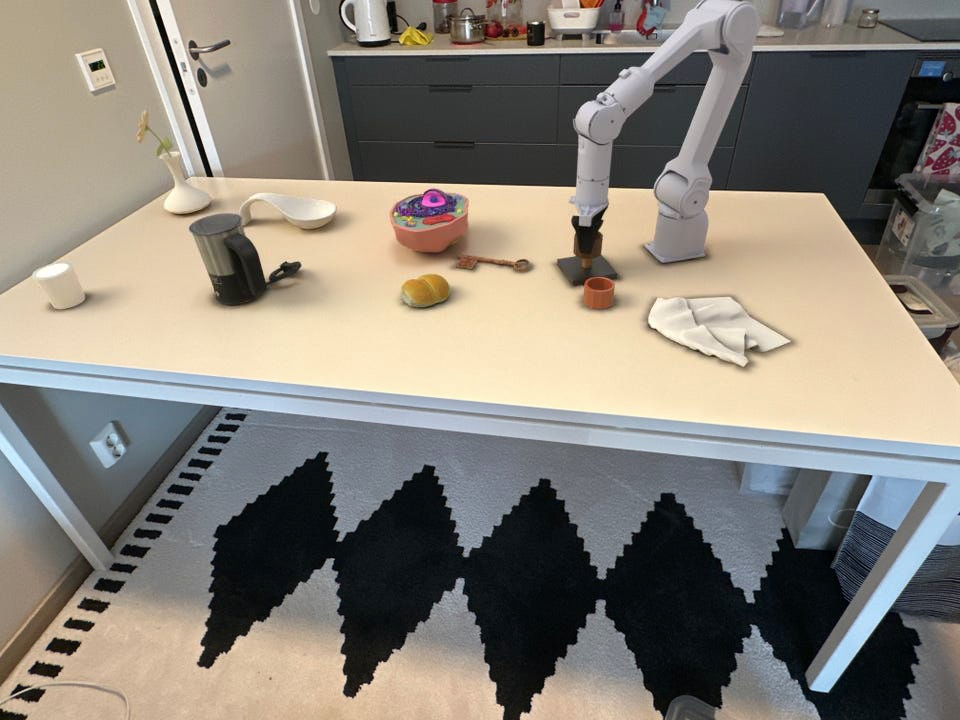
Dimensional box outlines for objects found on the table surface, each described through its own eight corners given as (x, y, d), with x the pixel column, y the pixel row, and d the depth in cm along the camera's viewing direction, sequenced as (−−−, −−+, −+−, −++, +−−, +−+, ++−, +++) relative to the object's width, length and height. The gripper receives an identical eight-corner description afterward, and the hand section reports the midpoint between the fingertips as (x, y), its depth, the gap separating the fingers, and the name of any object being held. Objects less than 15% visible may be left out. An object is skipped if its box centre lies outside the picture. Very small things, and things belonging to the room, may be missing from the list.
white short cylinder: (48, 314, 111) (29, 282, 107) (50, 298, 116) (32, 267, 111) (88, 304, 113) (71, 272, 109) (89, 288, 118) (72, 258, 114)
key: (453, 268, 118) (523, 278, 113) (452, 264, 118) (523, 274, 113) (464, 253, 122) (532, 262, 117) (463, 249, 122) (532, 258, 117)
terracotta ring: (606, 291, 108) (607, 274, 105) (617, 306, 104) (619, 288, 101) (579, 296, 107) (580, 279, 105) (590, 311, 103) (591, 293, 101)
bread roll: (457, 297, 109) (456, 279, 106) (415, 313, 105) (413, 294, 102) (436, 280, 114) (434, 262, 112) (395, 294, 110) (392, 276, 108)
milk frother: (204, 301, 112) (176, 230, 103) (256, 263, 123) (235, 196, 114) (266, 313, 108) (242, 239, 98) (313, 272, 119) (295, 203, 110)
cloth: (641, 296, 106) (643, 284, 104) (767, 298, 103) (770, 286, 102) (655, 365, 90) (657, 352, 88) (805, 369, 87) (810, 357, 86)
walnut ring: (594, 244, 114) (596, 227, 112) (605, 256, 110) (607, 239, 108) (569, 248, 113) (570, 231, 111) (579, 260, 109) (580, 243, 107)
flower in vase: (181, 199, 155) (144, 100, 139) (221, 200, 153) (187, 99, 138) (153, 220, 144) (109, 115, 129) (195, 221, 143) (156, 114, 128)
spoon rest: (345, 214, 142) (339, 185, 137) (329, 235, 133) (323, 205, 128) (254, 213, 145) (245, 185, 140) (232, 234, 136) (223, 205, 131)
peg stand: (598, 257, 118) (601, 225, 114) (617, 278, 111) (620, 245, 107) (556, 264, 117) (558, 232, 113) (572, 286, 110) (574, 252, 106)
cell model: (376, 260, 122) (367, 209, 115) (419, 221, 136) (413, 174, 129) (449, 272, 116) (444, 219, 109) (486, 230, 131) (484, 181, 124)
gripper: (577, 160, 109) (573, 227, 117) (563, 189, 98) (560, 261, 106) (615, 162, 107) (608, 230, 115) (605, 192, 96) (599, 265, 105)
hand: (588, 245), depth 111 cm, fingers closed on walnut ring, 5 cm apart
